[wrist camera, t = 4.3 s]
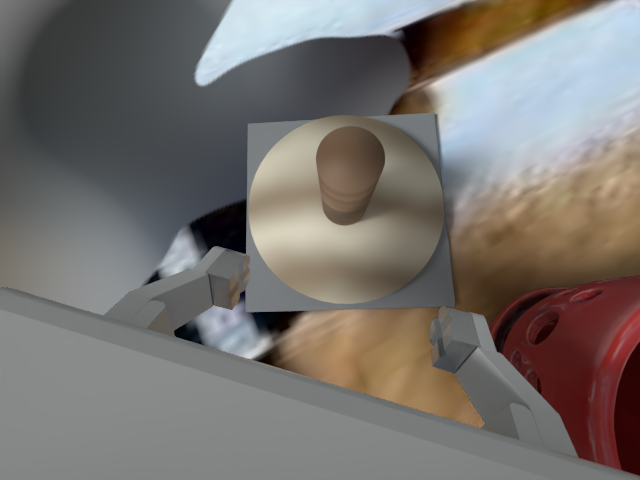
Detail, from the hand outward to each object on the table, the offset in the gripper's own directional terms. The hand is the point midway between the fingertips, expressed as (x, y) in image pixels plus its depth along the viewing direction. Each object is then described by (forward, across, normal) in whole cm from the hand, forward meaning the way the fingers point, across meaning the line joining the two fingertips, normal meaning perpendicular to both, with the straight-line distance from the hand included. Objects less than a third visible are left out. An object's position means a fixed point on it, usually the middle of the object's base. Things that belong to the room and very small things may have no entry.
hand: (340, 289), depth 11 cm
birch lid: (+13, +1, +3) cm, 13 cm away
